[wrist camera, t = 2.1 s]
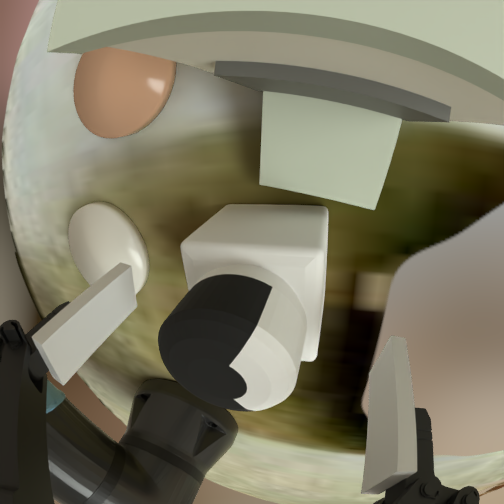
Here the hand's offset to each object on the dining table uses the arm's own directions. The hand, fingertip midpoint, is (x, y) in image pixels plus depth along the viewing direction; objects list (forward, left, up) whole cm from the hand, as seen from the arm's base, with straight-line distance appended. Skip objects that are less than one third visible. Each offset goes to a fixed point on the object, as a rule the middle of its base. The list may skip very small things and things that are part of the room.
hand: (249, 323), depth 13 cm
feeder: (+12, -2, -8) cm, 15 cm away
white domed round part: (-4, +16, -9) cm, 19 cm away
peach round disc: (+12, +14, -9) cm, 20 cm away
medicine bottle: (0, 0, -9) cm, 9 cm away
